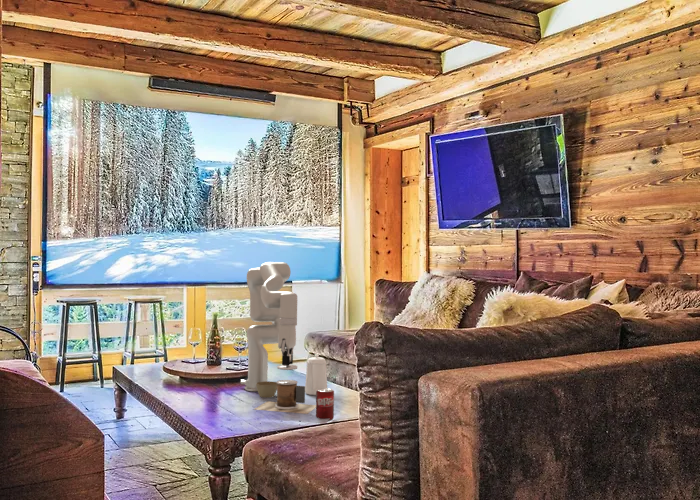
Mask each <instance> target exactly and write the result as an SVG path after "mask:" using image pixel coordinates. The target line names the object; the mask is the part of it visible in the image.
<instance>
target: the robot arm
mask: <svg viewBox="0 0 700 500" xmlns="http://www.w3.org/2000/svg"><path fill="white" fill-rule="evenodd" d="M290 276H291V267H290V265H289V264H288V263H287V262H285V261H284V262H283V261H275V262H274V261H267V262H264V263H262V264H261V265H260V266H259V267H253V268H250V269H249V270H248V271H247V273H246V284H247V287H248V291H249V315H250V316H249V317H250V320H251V321H253V322H255V323H269V322H271V324H254V325H253V324H252V325H250V326H249V327H248V328H247V329H246V330H247V331H246V337H247V339H246V340H247V347H248V348H247V349H248V355H247V357H248V360H247V361H248V362H247V364H248V365H247V379H240V384H241V385H245V386H244V390H245V391H248V392H258V390H257V386H256V383H258V382H265V381H268V362H269V353H268V350H267V349H266V347H264V345H273V344H277V345H278V346H277V348H278V349H280V350H281V365H287V366H289V365H294V364H293V361H294V348H295V346H296V345H297V331H296V329H297V326H298V295H297V293H296V292H295V293H294V292H293V291H288V290H287V291H282V290H281V289H282V288H283V287H284V283H285V282H287V281H288V280H289V278H290ZM280 290H281V291H280ZM289 354H291V362H290V356H289Z"/></svg>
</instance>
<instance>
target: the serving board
mask: <svg viewBox="0 0 700 500" xmlns="http://www.w3.org/2000/svg"><path fill="white" fill-rule="evenodd" d="M275 404H277V401H270V400H269V401H265V402H263V403H262V404H260V405H259V406H257V407H255V408H253V410H257V411H266V412H278V413H279V412H281V413H291V414H293V413H294V414H304V415H305V414H306V415H308V414H310V413H312V411H313V410H316V404H309V403H308V404H305V403H297V404H298V408H297V409H294V410H279V409H276V408H275Z"/></svg>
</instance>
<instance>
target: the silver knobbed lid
mask: <svg viewBox="0 0 700 500" xmlns="http://www.w3.org/2000/svg"><path fill="white" fill-rule="evenodd" d="M289 356H290V362H291V354H289ZM276 369H277V370H283V371H292V370H297V369H298V365H295V364H290V365H289V366H287V365H282V364H279V365H277V366H276Z"/></svg>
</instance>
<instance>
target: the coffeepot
mask: <svg viewBox="0 0 700 500" xmlns="http://www.w3.org/2000/svg"><path fill="white" fill-rule="evenodd" d="M319 356H320V355H319V353H317V354H314V356H312V357H309V358H308V359H307V361H306V363H307V365H306V372H305V375H306V376H305V382H304V384H305V385H304V386H305V395H310V396H316V391H317V390H318V389H322V388H328V379H327V361H326V359H325V358H324V357H321V356H320V357H319Z"/></svg>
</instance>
